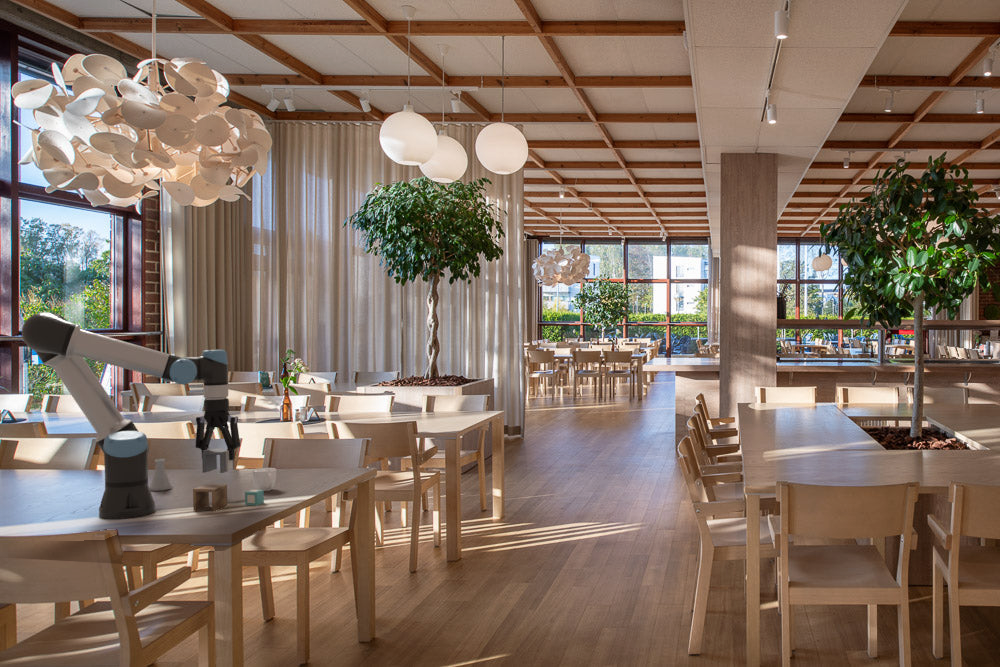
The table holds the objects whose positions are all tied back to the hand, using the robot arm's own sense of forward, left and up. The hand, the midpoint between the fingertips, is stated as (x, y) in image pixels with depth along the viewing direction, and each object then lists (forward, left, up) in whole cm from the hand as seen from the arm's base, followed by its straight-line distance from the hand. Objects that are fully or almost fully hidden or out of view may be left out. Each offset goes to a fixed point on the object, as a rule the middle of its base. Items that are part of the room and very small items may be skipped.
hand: (218, 470), depth 277 cm
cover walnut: (-16, -7, -9) cm, 19 cm away
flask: (+9, +27, -9) cm, 30 cm away
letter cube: (-8, -17, -9) cm, 21 cm away
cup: (+12, -10, -9) cm, 18 cm away
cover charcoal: (0, 0, 0) cm, 0 cm away
